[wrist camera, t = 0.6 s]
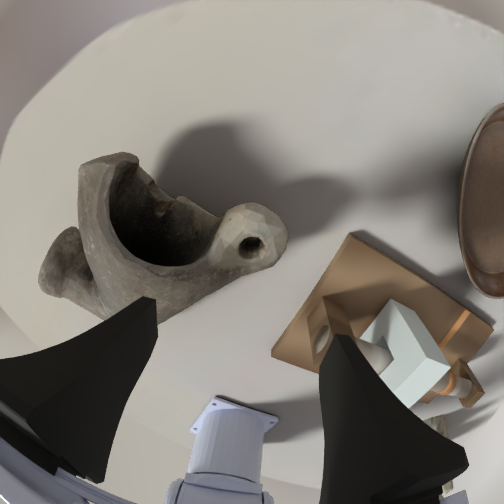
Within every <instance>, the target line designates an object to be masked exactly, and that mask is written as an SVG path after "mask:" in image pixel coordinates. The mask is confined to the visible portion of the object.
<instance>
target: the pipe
mask: <svg viewBox="0 0 504 504" xmlns="http://www.w3.org/2000/svg"><path fill="white" fill-rule="evenodd" d="M78 222H79V230H78V229H77V228H76V227H69V228H68V229H66V230H64V231H63V232H62V233H61V234H60V235H59V236H58V237H57V238H56V240H55V241H54V242H53V244H52V245H51V247H50V249H49V251H48V253H47V255H46V257H45V259H44V261H43V263H42V266H41V269H40V272H39V277H38V283H39V286H40V288H41V290H42V291H43V292H45V293H46V294H48V295H51V296H54V297H58V298H61V297H64V298H66V299H68V300H70V301H72V302H73V303H75V304H77V305H79V306H80V307H82V308H84V309H86V310H88V311H89V312H91V313H93V314H94V315H96V316H98V317H99V318H101V319H102V320H104V321H105V320H107V319H108V318H110V317H111V316H113V315H114V314H116V313H118V312H119V311H121V310H122V309H124V308H125V307H127V306H128V305H130V304H131V303H133V302H134V301H136V300H137V299H139V298H140V297H142V296H145V297H148V298H152V299H156V305H157V325H158V324H160V323H162V322H164V321H166V320H167V319H169V318H170V317H172V316H174V315H175V314H177V313H179V312H181V311H182V310H184V309H185V308H187V307H189V306H190V305H192V304H194V303H195V302H197V301H198V300H200V299H201V298H203V297H204V296H206V295H208V294H211V293H213V292H215V291H216V290H218V289H220V288H222V287H223V286H225V285H227V284H229V283H230V282H232V281H234V280H235V279H237V278H239V277H241V276H244V275H248V274H251V273H254V272H258V271H261V270H264V269H267V268H270V267H273V266H274V265H275V264H276V262H277V261H278V260H279V259H280V257H281V256H282V254H283V253H284V251H285V250H286V246H287V242H288V232H287V230H286V227H285V225H284V223H283V222H282V220H281V219H280V217H279V216H278V215H276V214H275V213H274V212H272V211H271V210H269V209H268V208H266V207H265V206H263V205H261V204H258V203H254V202H251V203H243V204H239V205H237V206H234V207H232V208H231V209H229V210H227V211H226V212H225V214H224V215H223V216H221V217H216V216H214V215H212V214H210V213H209V212H207V211H206V210H204V209H203V208H201V207H200V206H198V205H197V204H195V203H194V202H192V201H191V200H189V199H188V198H186V197H185V196H178V197H177V198H176V199H173V198H172V197H170V196H169V195H167V194H166V193H165V192H164V191H163V190H161V189H160V188H159V187H158V186H157V185H156V184H155V182H154V180H153V179H152V178H151V176H150V175H149V174H147V173H146V172H145V171H144V170H143V169H142V168H141V167H140V166H139V159H138V157H137V156H135V155H133V154H131V153H126V152H119V153H115V154H112V155H107V156H102V157H99V158H96V159H93V160H91V161H88V162H86V163H84V164H82V165H81V166H80V168H79V174H78Z"/></svg>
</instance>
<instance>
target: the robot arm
mask: <svg viewBox="0 0 504 504" xmlns="http://www.w3.org/2000/svg"><path fill="white" fill-rule="evenodd" d="M157 338H158V327H157V305H156V299H152V298H148V297H145V296H142V297H140V298H139V299H137V300H136V301H134V302H133V303H131V304H130V305H128V306H127V307H125V308H124V309H122V310H121V311H119V312H118V313H116V314H114V315H113V316H111V317H110V318H108V319H107V320H105V321H103V322H102V323H100V324H98V325H96V326H95V327H93V328H91V329H90V330H88V331H86V332H84V333H82V334H80V335H78V336H76V337H74V338H72V339H70V340H68V341H65V342H63V343H61V344H58V345H55V346H52V347H50V348H47V349H44V350H41V351H38V352H34V353H31V354H27V355H23V356H18V357H13V358H6V359H0V497H2V498H3V499H4V500H5V501H6V502H7V503H8V504H89V502H88V501H90V502H92V503H95V504H136V503H133V502H131V501H128V500H125V499H123V498H120V497H118V496H115V495H113V494H111V493H108V492H106V491H104V490H102V489H99V488H97V487H95V486H93V485H91V484H89V483H87V482H85V481H83V480H81V479H79V478H77V477H76V475H77V476H79V477H81V478H83V479H88V480H89V481H92V482H94V483H96V484H98V483H101V482H103V481H104V479H105V473H106V468H107V464H108V458H109V455H110V451H111V447H112V444H113V440H114V437H115V433H116V430H117V427H118V424H119V421H120V418H121V416H122V413H123V410H124V407H125V405H126V403H127V400H128V398H129V396H130V394H131V392H132V390H133V388H134V387H135V385H136V383H137V381H138V379H139V377H140V375H141V373H142V372H143V370H144V368H145V366H146V364H147V362H148V360H149V358H150V356H151V354H152V351H153V349H154V346H155V343H156V341H157ZM319 393H320V401H321V410H322V418H323V427H324V440H325V447H324V469H323V480H322V488H321V496H320V502H319V504H469V503H468V498H467V494H466V490H463V491H460V492H458V493H456V494H453V495H451V496H448V497H446V498H444V499H442V500H439V495H441V494H442V493H443V489H442V486H443V485H445V484H446V483H448V482H449V481H451V480H453V479H454V478H456V477H457V476H459V475H460V474H461V473H463V472H464V471H465V470H466V469H467V468H468V466H469V463H468V459H467V456H466V453H465V450H464V447H462V446H460V445H459V444H457V443H455V442H453V441H451V440H449V439H448V438H446V437H444V436H443V435H441V434H440V433H438V432H437V431H435V430H434V429H432V428H431V427H430V426H428V425H427V424H426V423H424V422H423V421H422V420H421V419H420V418H418V417H417V416H416V415H415V414H414V413H413V412H412V411H410V410H409V409H408V408H407V407H406V406H405V405H404V404H403V403H402V402H401V401H400V400H399V399H398V398H397V397H396V395H395V394H394V393H393V392H392V391H391V390H390V389H389V387H388V386H387V385H386V384H385V383H384V381H383V380H382V379H381V378H380V376H379V375H378V374H377V373H376V371H375V370H374V369H373V367H372V366H371V365H370V363H369V362H368V360H367V359H366V358H365V356H364V355H363V354H362V352H361V351H360V349H359V348H358V347H357V345H356V344H355V342H354V341H353V340H352V338H351V337H350V336H349V335H343V334H335V335H334V337H333V340H332V342H331V344H330V346H329V348H328V350H327V352H326V354H325V356H324V358H323V360H322V362H321V364H320V366H319ZM278 421H279V419H278V417H275V416H272V415H269V414H265V413H262V412H259V411H255V410H252V409H249V408H246V407H243V406H240V405H237V404H235V403H232V402H229V401H226V400H223V399H221V398H218V397H214V398H212V400H211V401H210V402H209V404H208V405H207V406H206V408H205V409H204V411H203V412H202V413H201V415H200V416H199V417H198V419H197V420H196V421H195V423H194V424H193V425H192V427H191V428H190V432H191V433H194V434H196V438H195V442H194V446H193V449H192V453H191V457H190V461H189V465H188V473H186V475H185V479H184V480H183V479H181V478H180V479H177V480H176V481H174V482H172V483H171V485H170V486H169V488H168V491H167V494H166V497H165V501H164V504H274V500H273V497H272V496H271V495H270V494H269V493H268V492H262V484H260V474H261V461H262V449H263V435H264V434H265V433H266V432H267V431H268V430H269V429H270V428H272V427H273V426H274V425H275V424H276V423H277V422H278ZM87 500H88V501H87Z"/></svg>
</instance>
